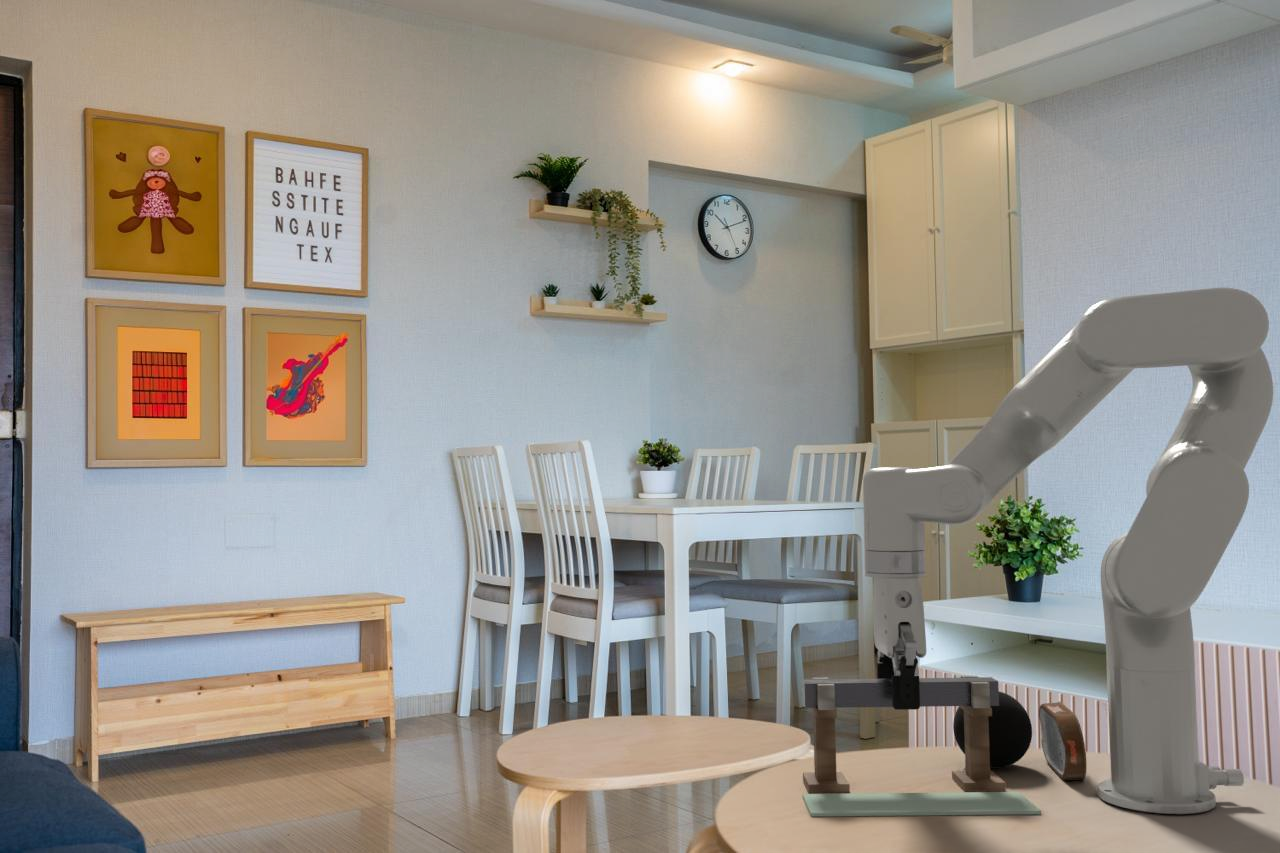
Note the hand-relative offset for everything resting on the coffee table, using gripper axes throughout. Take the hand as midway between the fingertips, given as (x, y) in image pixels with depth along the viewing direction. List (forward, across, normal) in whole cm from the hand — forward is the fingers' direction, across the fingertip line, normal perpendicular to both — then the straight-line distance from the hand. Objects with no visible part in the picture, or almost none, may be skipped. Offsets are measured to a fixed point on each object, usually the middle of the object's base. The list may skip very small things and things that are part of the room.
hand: (898, 701), depth 140 cm
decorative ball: (+10, +9, -14) cm, 20 cm away
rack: (+10, 0, 0) cm, 10 cm away
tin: (+10, +6, -22) cm, 25 cm away
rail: (0, 0, 0) cm, 0 cm away
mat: (+10, -9, 0) cm, 14 cm away
